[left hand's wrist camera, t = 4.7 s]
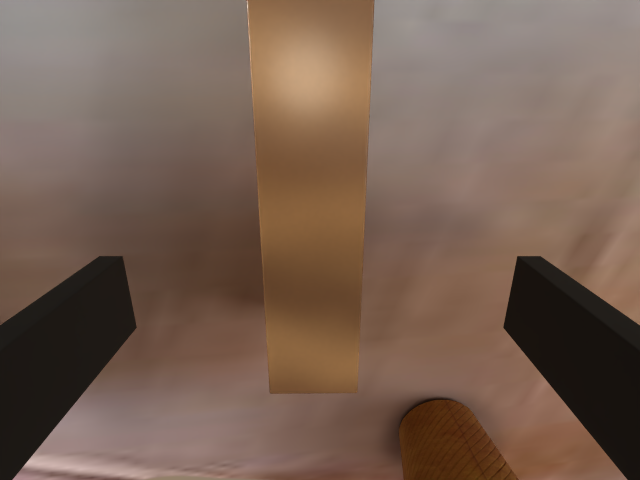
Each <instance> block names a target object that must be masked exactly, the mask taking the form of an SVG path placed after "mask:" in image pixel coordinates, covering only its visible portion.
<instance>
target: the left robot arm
mask: <svg viewBox="0 0 640 480" xmlns="http://www.w3.org/2000/svg"><path fill="white" fill-rule="evenodd" d="M136 328H137V327H136V322H135V317H134V312H133V307H132V302H131V297H130V292H129V287H128V282H127V276H126V271H125V266H124V261H123V256H99V257H98V258H96V259H95V260H94V261H92V262H91V263H89V264H88V265H86V266H85V267H83V268H82V269H81V270H79V271H78V272H76V273H75V274H73V275H72V276H71V277H69V278H68V279H66V280H65V281H63V282H62V283H60V284H59V285H58V286H56V287H55V288H53V289H52V290H50V291H49V292H48V293H46V294H45V295H43V296H42V297H40V298H39V299H37V300H36V301H35V302H33V303H32V304H30V305H29V306H27V307H26V308H25V309H23V310H22V311H20V312H19V313H17V314H16V315H15V316H13V317H12V318H10V319H9V320H7V321H6V322H4V323H3V324H2V325H0V480H13V478H14V477H15V476H16V475H17V473H18V472H19V471H20V470H21V468H22V467H23V466H24V465H25V464H26V462H27V461H28V460H29V459H30V457H31V456H32V455H33V454H34V453H35V451H36V450H37V449H38V448H39V446H40V445H41V444H42V443H43V442H44V440H45V439H46V438H47V437H48V435H49V434H50V433H51V432H52V431H53V429H54V428H55V427H56V426H57V424H58V423H59V422H60V421H61V419H62V418H63V417H64V416H65V415H66V413H67V412H68V411H69V410H70V408H71V407H72V406H73V405H74V404H75V402H76V401H77V400H78V399H79V397H80V396H81V395H82V394H83V393H84V391H85V390H86V389H87V388H88V386H89V385H90V384H91V383H92V382H93V380H94V379H95V378H96V377H97V375H98V374H99V373H100V372H101V370H102V369H103V368H104V367H105V366H106V364H107V363H108V362H109V361H110V359H111V358H112V357H113V356H114V355H115V353H116V352H117V351H118V350H119V348H120V347H121V346H122V345H123V344H124V342H125V341H126V340H127V339H128V337H129V336H130V335H131V334H132V333H133V331H134V330H135V329H136ZM503 328H504V329H505V330H506V331H507V333H508V334H509V335H510V336H511V337H512V339H513V340H514V341H515V342H516V344H517V345H518V346H519V347H520V348H521V350H522V351H523V352H524V353H525V355H526V356H527V357H528V358H529V359H530V361H531V362H532V363H533V364H534V366H535V367H536V368H537V369H538V370H539V372H540V373H541V374H542V375H543V377H544V378H545V379H546V380H547V382H548V383H549V384H550V385H551V386H552V388H553V389H554V390H555V391H556V393H557V394H558V395H559V396H560V397H561V399H562V400H563V401H564V402H565V404H566V405H567V406H568V407H569V408H570V410H571V411H572V412H573V413H574V415H575V416H576V417H577V418H578V419H579V421H580V422H581V423H582V424H583V426H584V427H585V428H586V429H587V431H588V432H589V433H590V434H591V435H592V437H593V438H594V439H595V440H596V442H597V443H598V444H599V445H600V446H601V448H602V449H603V450H604V451H605V453H606V454H607V455H608V456H609V457H610V459H611V460H612V461H613V462H614V464H615V465H616V466H617V467H618V468H619V470H620V471H621V472H622V473H623V475H624V476H625V477H626V478H627V480H640V325H638V324H637V323H636V322H634V321H633V320H631V319H630V318H628V317H627V316H625V315H624V314H623V313H621V312H620V311H618V310H617V309H615V308H614V307H613V306H611V305H610V304H608V303H607V302H605V301H604V300H603V299H601V298H600V297H598V296H597V295H595V294H594V293H592V292H591V291H590V290H588V289H587V288H585V287H584V286H582V285H581V284H580V283H578V282H577V281H575V280H574V279H572V278H571V277H569V276H568V275H567V274H565V273H564V272H562V271H561V270H559V269H558V268H557V267H555V266H554V265H552V264H551V263H549V262H548V261H546V260H545V259H544V258H542V257H541V256H517V261H516V266H515V271H514V276H513V282H512V287H511V292H510V297H509V302H508V307H507V312H506V317H505V322H504V327H503Z"/></svg>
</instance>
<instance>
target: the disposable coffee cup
mask: <svg viewBox="0 0 640 480" xmlns="http://www.w3.org/2000/svg"><path fill="white" fill-rule="evenodd" d="M399 439H400V447H401V457H402V466H403V476H404V480H518V478H517V477H516V475H515V474H514V472H513V471H512V470H511V468H510V467H509V465H508V464H507V462H506V461H505V459H504V458H503V456H502V455H501V454H500V452H499V451H498V449H497V448H496V447H495V445H494V443H493V442H492V441H491V439H490V438H489V436H488V435H487V433H486V432H485V430H484V429H483V428H482V426H481V425H480V423H479V422H478V420H477V419H476V417H475V416H474V414H473V413H472V411H471V410H470V409H469V408H468V407H466V406H464V405H463V404H461V403H458V402H456V401H451V400H434V401H430V402H426V403H423V404H421V405H419V406H417V407H415V408H414V409H412V410H411V411H410V412H409V413H408V414H407V415H406V416H405V417H404V419H403V420H402V422H401V425H400V427H399Z"/></svg>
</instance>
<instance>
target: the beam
mask: <svg viewBox="0 0 640 480" xmlns="http://www.w3.org/2000/svg"><path fill="white" fill-rule="evenodd" d="M247 16H248V32H249V49H250V66H251V83H252V100H253V117H254V134H255V151H256V168H257V185H258V202H259V219H260V236H261V252H262V269H263V286H264V303H265V320H266V337H267V354H268V371H269V388H270V393H271V394H283V393H357V385H358V362H359V339H360V317H361V294H362V271H363V248H364V225H365V202H366V180H367V157H368V134H369V111H370V88H371V65H372V43H373V20H374V0H247Z"/></svg>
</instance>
